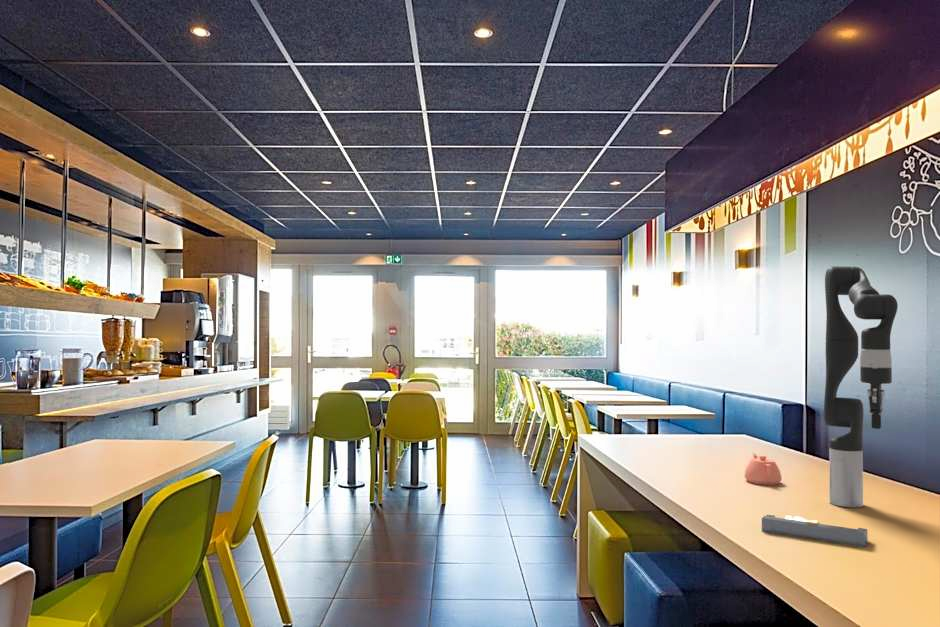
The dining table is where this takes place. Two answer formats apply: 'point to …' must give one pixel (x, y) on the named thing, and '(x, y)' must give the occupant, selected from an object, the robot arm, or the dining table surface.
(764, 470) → the pink rounded piece
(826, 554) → the dining table surface
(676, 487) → the dining table surface
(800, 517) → the pipe fitting
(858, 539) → the stop bracket
